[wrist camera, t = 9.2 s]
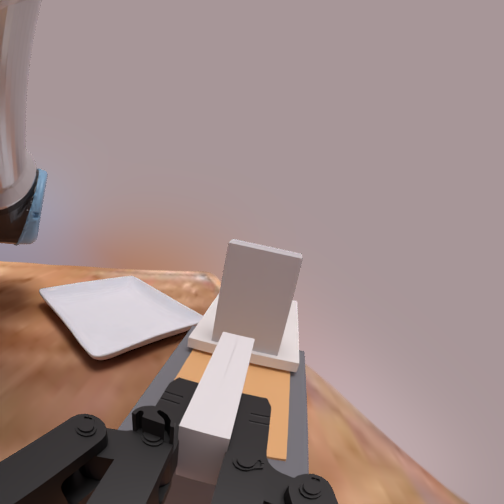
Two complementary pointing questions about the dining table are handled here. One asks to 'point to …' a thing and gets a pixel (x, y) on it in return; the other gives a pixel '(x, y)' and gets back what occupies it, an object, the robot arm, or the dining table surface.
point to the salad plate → (118, 314)
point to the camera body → (256, 383)
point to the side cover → (255, 305)
